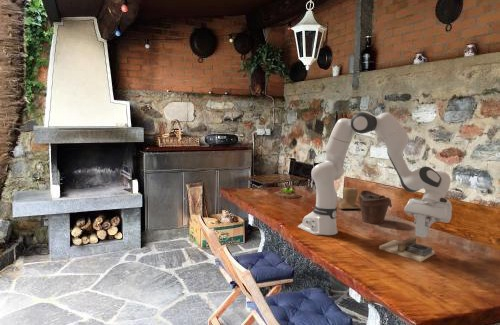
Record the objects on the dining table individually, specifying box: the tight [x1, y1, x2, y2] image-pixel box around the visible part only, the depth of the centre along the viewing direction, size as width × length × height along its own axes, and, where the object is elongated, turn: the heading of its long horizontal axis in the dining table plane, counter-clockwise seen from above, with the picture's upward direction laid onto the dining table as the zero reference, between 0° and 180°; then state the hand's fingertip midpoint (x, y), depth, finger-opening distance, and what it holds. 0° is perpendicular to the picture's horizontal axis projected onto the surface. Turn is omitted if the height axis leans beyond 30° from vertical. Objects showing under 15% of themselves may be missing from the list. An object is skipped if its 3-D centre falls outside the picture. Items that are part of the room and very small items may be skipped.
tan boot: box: [337, 187, 361, 210], centre depth 253 cm, size 15×12×15 cm
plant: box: [273, 181, 302, 200], centre depth 289 cm, size 20×20×11 cm
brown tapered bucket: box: [357, 190, 393, 225], centre depth 222 cm, size 18×20×18 cm
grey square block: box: [414, 213, 430, 239], centre depth 167 cm, size 4×4×10 cm
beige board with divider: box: [378, 236, 435, 263], centre depth 173 cm, size 20×15×6 cm
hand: (421, 224), depth 166 cm, fingers closed on grey square block, 4 cm apart
